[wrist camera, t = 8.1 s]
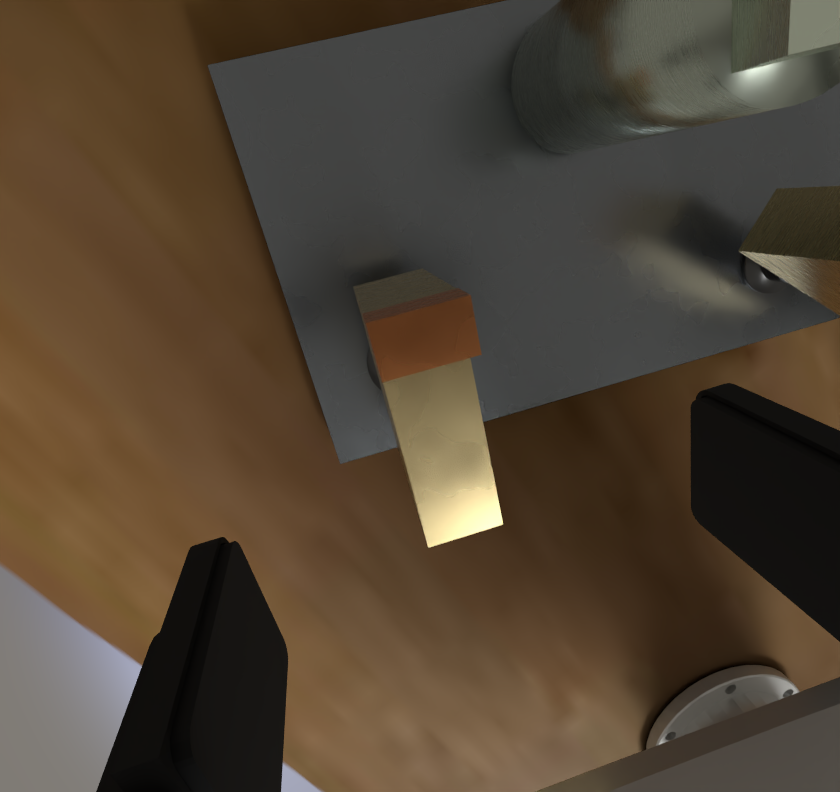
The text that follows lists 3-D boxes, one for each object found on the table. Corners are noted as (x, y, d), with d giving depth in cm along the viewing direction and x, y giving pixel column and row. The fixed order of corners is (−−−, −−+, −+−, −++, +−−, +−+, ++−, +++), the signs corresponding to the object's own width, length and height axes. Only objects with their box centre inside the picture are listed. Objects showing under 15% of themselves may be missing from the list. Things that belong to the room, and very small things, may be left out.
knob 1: (453, 435, 23) (517, 546, 16) (397, 452, 23) (434, 573, 15) (414, 262, 20) (470, 295, 12) (348, 279, 20) (366, 322, 12)
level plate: (804, 310, 27) (1205, 394, 15) (338, 444, 25) (355, 677, 13) (830, -56, 21) (1547, -427, 9) (218, 79, 19) (24, -168, 6)
